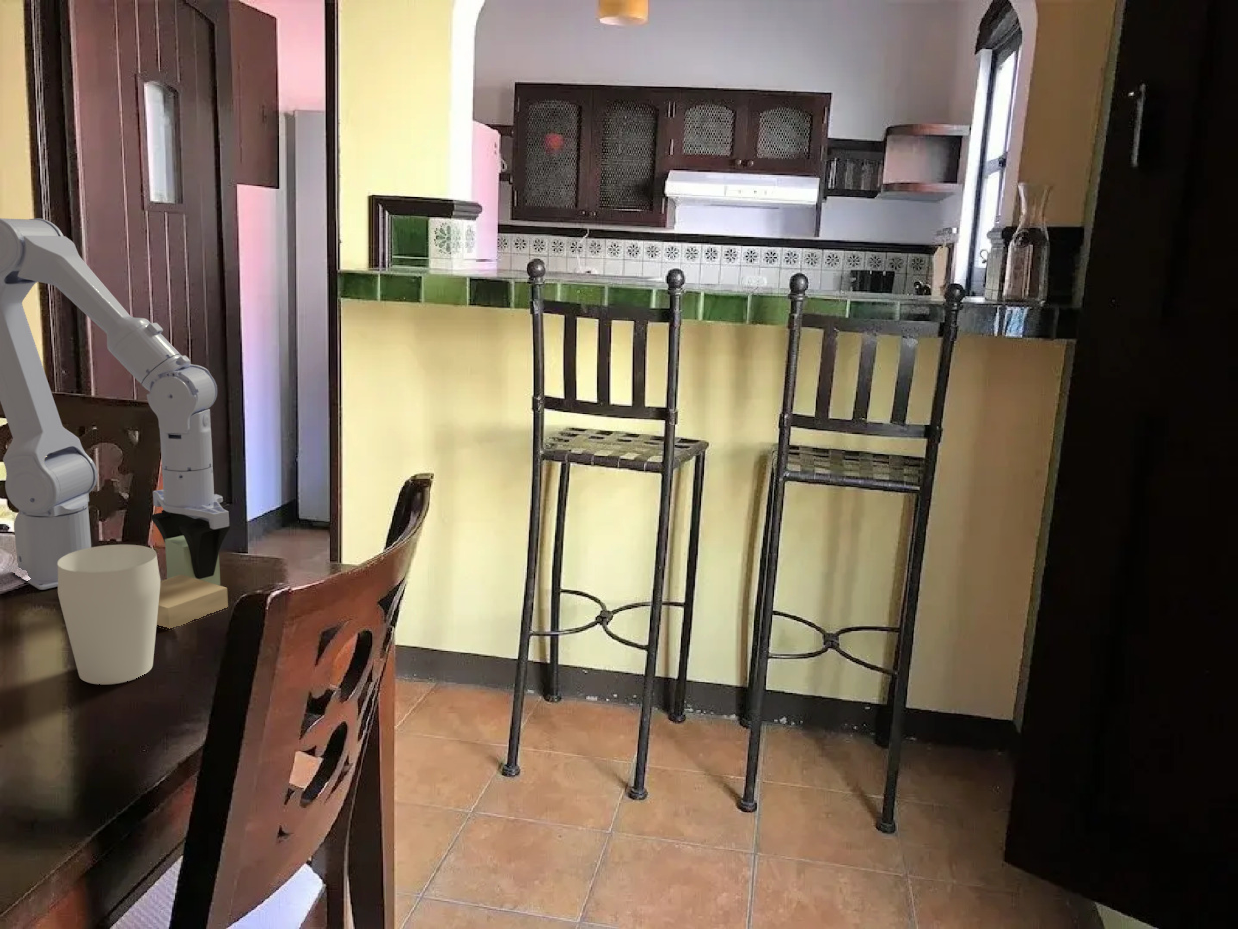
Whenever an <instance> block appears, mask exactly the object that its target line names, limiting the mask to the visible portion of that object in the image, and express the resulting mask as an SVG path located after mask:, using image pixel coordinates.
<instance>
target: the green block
mask: <svg viewBox="0 0 1238 929" xmlns="http://www.w3.org/2000/svg"><path fill="white" fill-rule="evenodd" d="M164 546H165V547H164V548H165V563H166V579H169V578H172V577H175V576H178V575H185V576H188V577H192V578H195V579H197V578H196V577H195V575H194V572H193V567H192V561H191V555H190V551H189V547H188V544H187V542H186V540H185V537H184V535H183V536H178V537H173V538H168V539H165V542H164ZM219 554H220V553H219ZM219 554H218V558H217V563H216V568H215V572H214V575H213V576H210V577H206V578H202V579H199V580H202V581H205V582H209V583H212V584H216V585H219V586H221V571H220V570H221V569H220V555H219Z"/></svg>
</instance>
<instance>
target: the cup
mask: <svg viewBox="0 0 1238 929" xmlns="http://www.w3.org/2000/svg"><path fill="white" fill-rule="evenodd" d="M157 554H158V553H157V551H156V550H155V549H154V548H151V547H148V546H144V545H140V544H139V545H136V544H107V545H98V546H91V548H87V549H82V550H78V551H75V552H72V553H69V554H67V555H65V556H63V557H62V558H60V559H59V561H58V586H57V594H58V595H57V596H58V600H59V604H60V607H61V611H62V615H63V619H64V623H65V626H66V627H65V628H66V631H67V634H68V640H69V642H70V646H71V650H72V654H73V657H74V662H75V665H76V669H77V673H78V677H79V679H81V680H82V681H84V682H86V683H88V684H93V685H99V684H100V685H102V686H103V685H116V684H118V685H119V684H123V683H127V681H128V682H130V681H133V680H137V679H138V677H139V678H141V677H143V676H144V674H145V675H146V674H147V673H149V672H151V670H152V668H153V667H154V658H155V657H154V656H155V655H154V654H155V648H156V647H155V645H156V634H157V627H158V626H157V615H158V605H159V594H160V581H161V576H160V570H159V561H158V555H157ZM142 675H143V676H142ZM140 676H141V677H140ZM136 678H137V679H136Z"/></svg>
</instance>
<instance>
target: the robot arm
mask: <svg viewBox="0 0 1238 929" xmlns="http://www.w3.org/2000/svg"><path fill="white" fill-rule="evenodd" d="M37 283H43V284H48V285H50V286H53V287H55V288H57V289H58V290H59V291H60V292H61V293H62V294H63V295H64V296H65V297H66V298H67V299H69V300H70V301H71V302H72V303H73V305H75V306H76V307H77V308H78V309H79V310H80V311H81V312H82V313H84V314H85V315H86V316H87V317H88V318H89V319H90V320H91V321H92V322H94V324H96V326H97V327H99V328H100V329H101V330H102V331H103V332H104V333H105V334H106V348H107V350H108V351H109V352H110V354H111V355H112V356H113V357H114V358H115V359H116V360H117V361H118V362H119V363H120V364H121V365H122V366H123V367H124V369H126V370H127V372H128V373H129V374H131V375H132V377H133V378H134V379H135V380H136V381H137V382H138V383H140V385H141V386H142V387H143V388H144V389H145V390H146V391H148V392H149V393H147V394H146V398H147V403H148V405H149V407H150V409H151V410H152V411H153V413H154V414H155V415H156V417H157V419H158V420H157V421H158V428H159V438H160V439H159V440H160V454H161V458H160V459H161V473H162V489H158V490H152V499H153V500H152V501H153V506H154V507H156V508H162V510H161V512H158V513H153V514H151V516H150V519H151V521H152V523H154V525H155V527H156V528H157V529H158V531H159V533H160V536H161V537H162V539H163V542H164V543H165V539H168V538H173V537H178V536H183V535H184V537H185V540H186V542H187V544H188V547H189V551H190V555H191V561H192V567H193V572H194V575H195V577H196V578H197V579H202V578H206V577H210V576H213V575H214V572H215V568H216V563H217V558H218V554H220V549H221V547H222V545H223V542H224V539H225V537H226V536H227V534H228V532H229V531H230V529H231V521H230V517H229V516H230V515H229V511H228V510H226V509H224V508H223V506H222V505H221V504H220V503H223V501H224V499H223V496H222V495H221V494H217V493H215V489H214V488H215V486H214V485H215V484H214V469H213V462H214V461H213V444H212V443H213V442H212V441H213V440H212V428H211V424H212V423H211V409H210V408H211V407H212V406H213V405H214V403H215V402H216V400H217V397H218V385H217V382H216V379H214V377H213V376H212V374H211V373H210V371H209V369H207V368H206V367H204V366H201V365H198V364H192V363H191V359H190V358H189V357H188V356H187V355H185V354H184V355H182V354H181V353H180V352H179V351H178V350H177V349H176V348H175V347H174V346H173V345H172V344H171V342H169V340H167V338H166V337H165V336H164V335H163V334H162V333H163V331H164V328H163V327H161V325H160V324H159V323H158V322H150V320H148V318H144V317H134V316H131V315H130V314H129V313H128V311H127V310H126V309H125V308H124V307H123V305H122V304H121V303H120V302H119V301H118V299H117V298H116V297H115V296H114V295H113V294H112V292H111V291H110V290H109V289H108V288H107V287H106V286H105V285H104V283H103V282H102V281H101V280H100V279H99V277H98V276H97V275H96V273H95V272H93V270H92V269H91V268H90V267H89V265H87V263H86V262H85V261H84V260H83V259H82V257H81V256H80V254H79V252H78V249H77V247H76V244H75V242H73V241H72V240H71V239H70V238H68V237H67V236H66V235H65V236H64V234H63V233H62V230H60V228H59V227H58V226H57V225H56V224H54V223H53V222H51V221H49V220H47V219H44V218H41V217H40V218H29V219H24V218H22V219H21V218H3V217H2V218H1V217H0V405H1V407H2V410H3V413H4V416H5V419H6V422H7V425H8V428H9V431H10V433H11V436H12V440H11V443H10V444H9V446H8V447H7V448H8V449H7V450H6V452H5V454H4V455H3V458H2V461H3V464H4V467H5V473H6V475H5V476H6V477H5V484H4V485H5V486H4V487H5V493H6V495H7V498H8V500H9V502H10V503H11V504H12V505H13V506H14V507H15V508H16V509H18V513H17V515H16V517H14V518H15V519H14V524H13V530H14V541H15V550H16V552H15V553H16V559H17V560H16V561H17V562H16V563H17V567H19V568H21V569H22V570H26V571H27V573H28V576H29V577H30V578H31V579H30V580H28V582H27V583H28V584H30V585H31V586H33V587H34V588H36V589H38V590H41V591H42V590H48V589H52V588H56V587H57V588H58V561H59V559H60V558H62V557H63V556H65V555H67V554H69V553H72V552H75V551H78V550H82V549H87V548H92V539H91V525H90V514H89V502H90V496H89V494H90V493H91V492H92V491H93V490H94V489H95V487H96V485H97V483H98V479H99V478H98V469H97V466H96V464H95V462H94V460H93V459H92V458H91V457H90V456H89V455H88V454H87V453H86V451H85V449H84V448H83V445H82V443H81V440H80V438H79V437H78V436H76V435H75V434H74V433H73V432H71V431H69V430H68V429H67V428H65V427H64V426H63V423H62V420H61V418H60V417H61V416H60V415H59V411H58V408H57V405H56V403H55V400H54V397H53V393H52V390H51V387H50V384H49V382H48V379H47V375H46V372H45V369H44V366H43V363H42V360H41V358H40V354H39V351H38V349H37V345H36V342H35V339H34V335H33V333H32V331H31V327H30V324H29V321H28V317H27V315H26V312H25V309H24V306H23V301H24V299H25V298H27V295H28V294H29V292H30V291H31V290H32V288H33V287H34V285H35V284H37Z"/></svg>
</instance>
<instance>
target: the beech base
mask: <svg viewBox="0 0 1238 929" xmlns="http://www.w3.org/2000/svg"><path fill="white" fill-rule="evenodd" d="M228 600H229V598H228V587H225V586H223V585H216V584H212V583H209V582H205V581H202V580H199V579H195V578H192V577H188V576H185V575H178V576H175V577H172V578H169V579H167V578H166V579H162V580H160V594H159V605H158V615H157V625H159V626H163V627H167V628H169V629H170V628H173V627H176V626H180V627H182V626H184V625H183V624H185V625H187V624H186V623H188V622H190V621H192V620H194V619H199V618H201V617H203V616H206V615H207V614H210V613H214V612H216V611H219V610H222V609H224V608H227V607H228V608H229V601H228ZM201 619H202V618H201ZM199 620H200V619H199ZM190 623H191V622H190ZM188 624H189V623H188ZM181 625H182V626H181Z"/></svg>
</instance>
